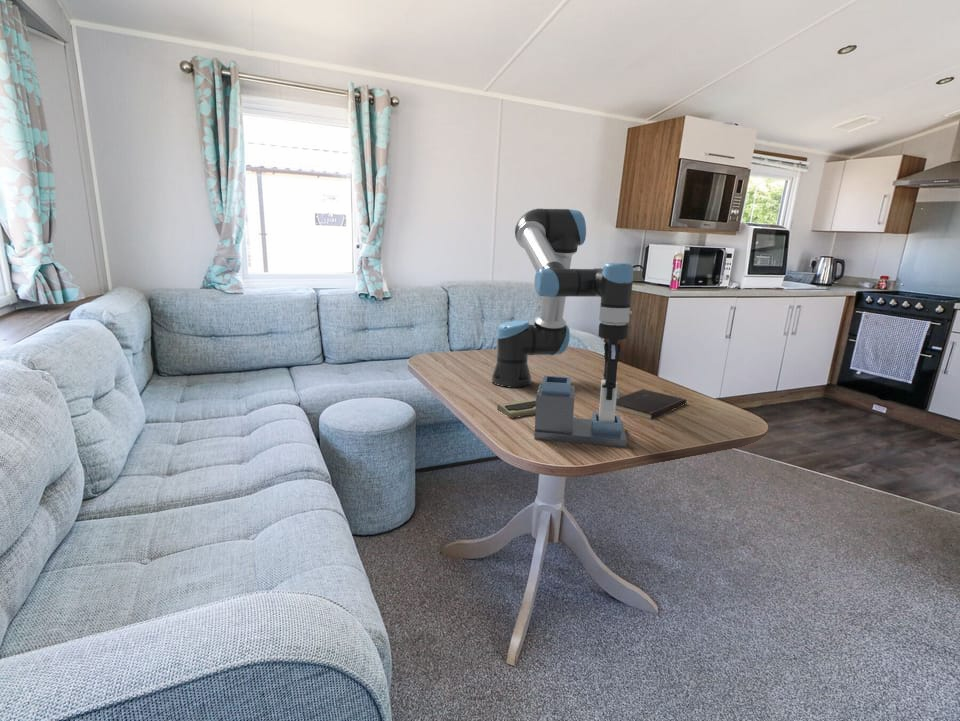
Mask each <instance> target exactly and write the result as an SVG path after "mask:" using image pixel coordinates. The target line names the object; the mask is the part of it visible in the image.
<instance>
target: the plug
mask: <svg viewBox="0 0 960 721" xmlns="http://www.w3.org/2000/svg"><path fill="white" fill-rule="evenodd" d="M605 381H606V380H604V378H603V379H601V380H600V382H601V383H600V394H599V406H598V407H599V409H598V414H599V420H598V421H602V422H615V415H616V410H617V409H616V399H619V397H620V391H619V390H618V384H619V383H618V381H617V379H616V387H615V394H614V406H613V411H603V398H604V388H602V385H605Z"/></svg>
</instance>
